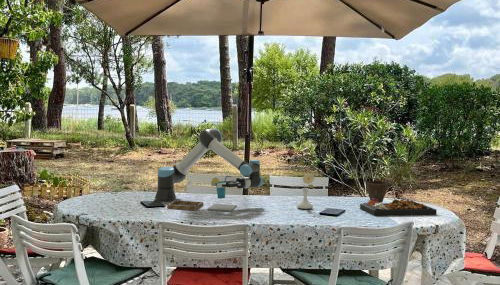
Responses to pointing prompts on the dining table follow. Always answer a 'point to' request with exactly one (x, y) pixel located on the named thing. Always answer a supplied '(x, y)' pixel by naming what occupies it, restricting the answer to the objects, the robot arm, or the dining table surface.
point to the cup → (219, 190)
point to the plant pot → (376, 190)
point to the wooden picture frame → (183, 203)
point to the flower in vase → (305, 203)
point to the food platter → (396, 208)
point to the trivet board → (222, 207)
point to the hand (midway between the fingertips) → (214, 184)
